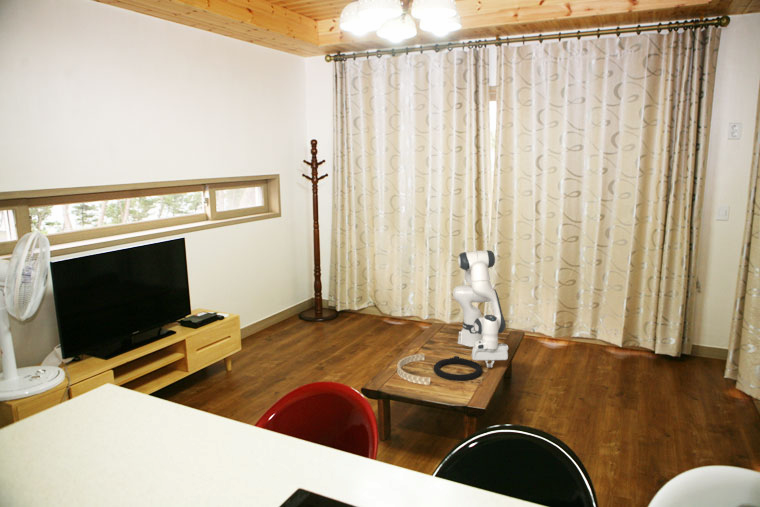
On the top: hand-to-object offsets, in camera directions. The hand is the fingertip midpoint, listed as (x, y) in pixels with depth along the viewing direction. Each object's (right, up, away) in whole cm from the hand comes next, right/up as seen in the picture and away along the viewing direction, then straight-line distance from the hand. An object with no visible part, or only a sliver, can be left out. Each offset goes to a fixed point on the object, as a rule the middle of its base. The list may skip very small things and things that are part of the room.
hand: (489, 367), depth 296 cm
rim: (-44, -2, 0) cm, 44 cm away
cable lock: (-18, -3, 0) cm, 18 cm away
